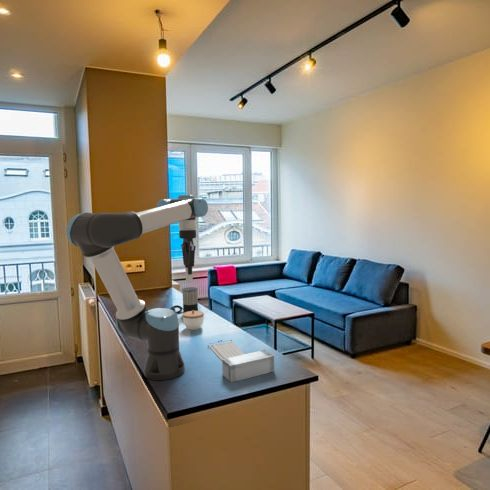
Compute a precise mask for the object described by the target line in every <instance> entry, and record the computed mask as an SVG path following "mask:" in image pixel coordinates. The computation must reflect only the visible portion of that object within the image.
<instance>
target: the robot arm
mask: <svg viewBox="0 0 490 490" xmlns="http://www.w3.org/2000/svg"><path fill="white" fill-rule="evenodd" d="M208 210H209V205H208V202H207V200H206V199H204V198H202V197H195V196H194V194H179V195H178V196H177V198H164V199H163V198H161V199H160V200H159V201H157V203H156V207H153V208H149V209H145V210H142V211H138V212H135V211H133V210H132V211H126V212H97V213H96V212H95V213H94V212H93V213H92V212H83V213H78V214H76V215H74V216H72V217H71V218H70V219H69V221H68V222H67V226H66V231H65V232H66V233H65V235H66V238H67V240H68V241H69V242H70V243H71V245H74V246H75V247H78V248H79V250H80V252H81V253H82V255H83V257H84V258H87V259H90V261H91V263H92V265H93V266H94V268H95V270H96V272H97V274H98V276H99V277H100V280H101V281H102V284H103V285H104V287H105V290H106V291H107V293H108V295H109V296H110V298H111V300H112V302H113V304H114V306H115V307H116V312H115V320H116V321H115V327H116V330H117V331H118V333H119V334H120V335H121V336H123V337H125V338H128V339H133V340H136V341H141V342H145V343H146V345H147V355H146V359H145V362H144V366H143V376H144V377H145V378H147V379H149V380H151V381H152V380H153V381H167V380H172V379H176V378H177V377H179V376H181V375H183V374H184V372H185V370H186V369H185V368H186V367H185V362H184V359H183V357H182V354H181V352H180V331H179V330H180V327H179V324H180V321H179V318H178V317H179V316H178V313H176V312H177V311H176V310H175V311H173V310H171V309H170V308H166V307H163V308H162V307H155V308H151V309H149V308H148V307H147V305H146V302H145V301H144V300H143V299H140V298H138V295H137V294H136V291H135V289H134V286H133V285H132V283H131V281H130V279H129V277H128V274H127V273H126V271H125V269H124V267H123V265H122V263H121V260H120V258H119V256H118V254H117V253H116V250H115V247H117V246H120V245H123V244H125V243H128V242H132V241H134V240H137V239H140V238H141V237H142V235H143V234H146V233H149V232H152V231H155V230H157V229H161V228H164V227H167V226H170V225H174V224H176V223H178V229H179V231H178V234H179V235H178V237H179V239H180V240H181V239H183V241H182V243H181V244H180V247H181V253H182V261H183V266H184V267H185V282H187V283H188V282H189V283H191V282H193V279H194V278H193V277H194V276H193V274H194V273H193V267H195V255H196V254H195V253H196V245H195V243H194V240H193V239H196V238H197V230H196V228H197V226H196V225H197V221H196V220H197V219H196V218H201V217H205V216H207V213H208Z"/></svg>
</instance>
